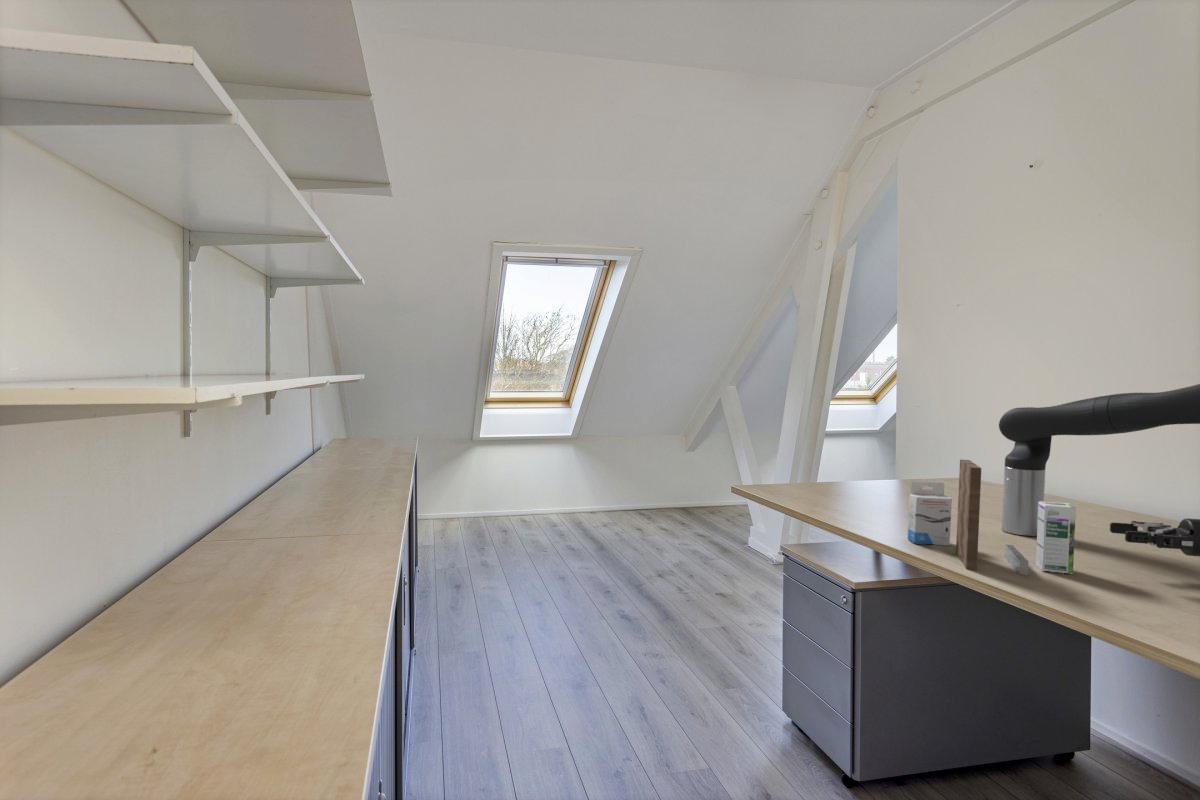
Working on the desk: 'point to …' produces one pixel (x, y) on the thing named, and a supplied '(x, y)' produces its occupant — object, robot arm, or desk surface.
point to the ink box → (929, 514)
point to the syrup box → (1055, 537)
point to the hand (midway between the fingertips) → (1117, 531)
